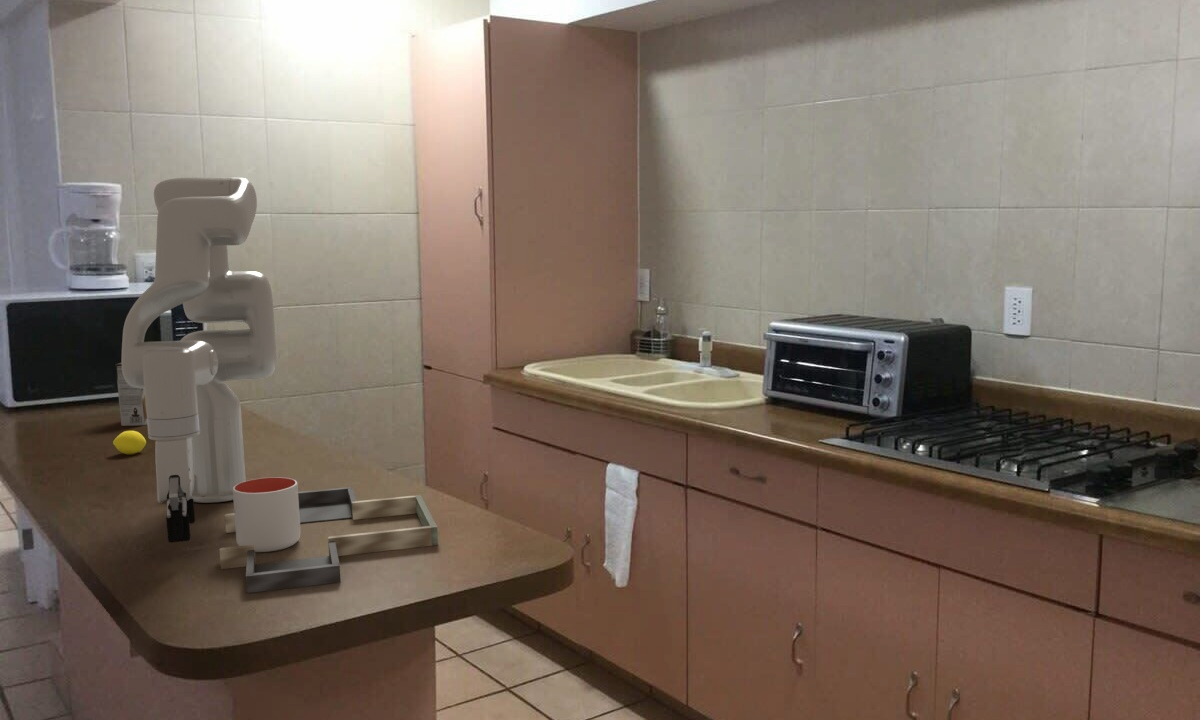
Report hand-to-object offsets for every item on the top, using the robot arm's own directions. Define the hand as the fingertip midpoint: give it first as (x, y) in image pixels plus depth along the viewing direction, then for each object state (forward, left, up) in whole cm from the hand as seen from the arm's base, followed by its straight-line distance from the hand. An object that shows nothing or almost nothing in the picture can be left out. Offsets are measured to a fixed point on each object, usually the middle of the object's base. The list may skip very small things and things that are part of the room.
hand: (182, 532), depth 168 cm
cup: (+13, 0, -4) cm, 14 cm away
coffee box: (-19, +117, -4) cm, 119 cm away
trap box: (+23, 0, -3) cm, 23 cm away
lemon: (-17, +79, -4) cm, 81 cm away
